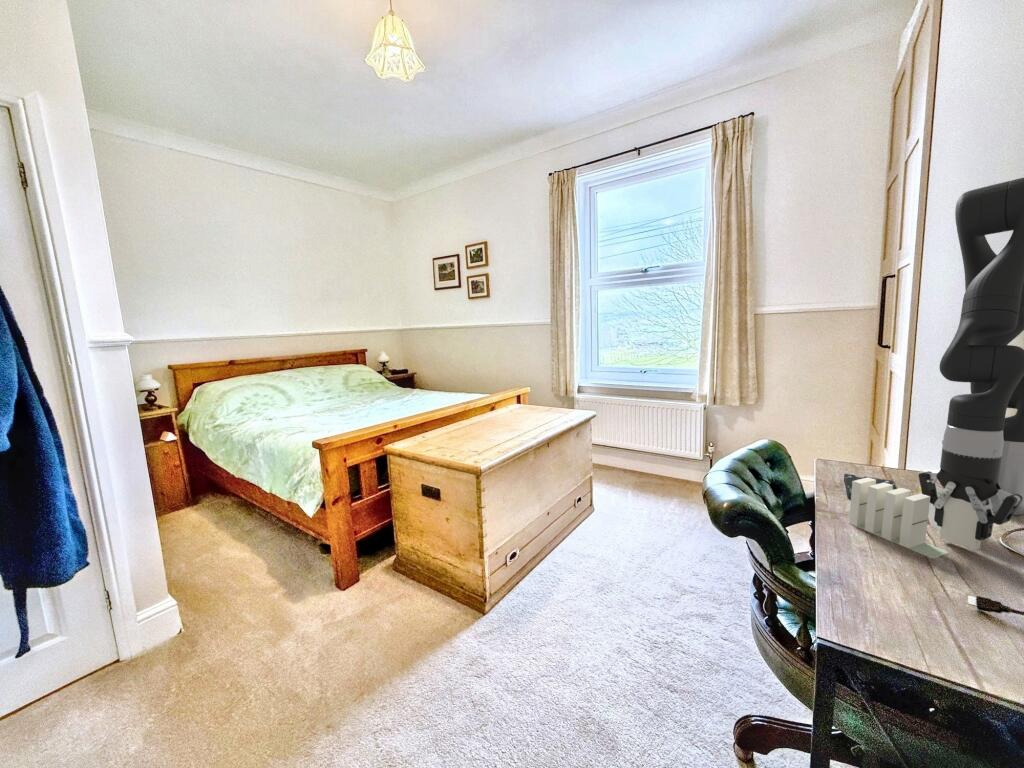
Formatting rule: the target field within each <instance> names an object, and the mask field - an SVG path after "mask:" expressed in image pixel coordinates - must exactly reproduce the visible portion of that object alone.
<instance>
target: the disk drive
mask: <svg viewBox="0 0 1024 768" xmlns="http://www.w3.org/2000/svg"><path fill="white" fill-rule="evenodd" d="M863 478H872V479H875V480H876V484H880V483H884V482H885V483H888V484H891V485H893V490H895V489H898V487H897V486H896V483H895V482H894V480H891V479H884V478H878V477H877V478H876V477H869V476H863V477H860V476H856V475H855V474H849V473H844V475H843V483H844V486H845V492H846V496H847V500H851V494H852V482H853V481H855V480H859V479H863Z"/></svg>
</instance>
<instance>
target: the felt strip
mask: <svg viewBox="0 0 1024 768" xmlns="http://www.w3.org/2000/svg"><path fill="white" fill-rule="evenodd" d="M846 523H847V524H849V525H852V524H850V523H849V521H847V522H846ZM852 526H854V527H856V528H859V529H862V530H863V531H866V532H869V531H867V530H865V524H863V525H860V526H855V525H852ZM869 533H870V534H872V535H876V536H878V537H879V538H880V537H881V534H882V531H878V532H875V533H871V532H869ZM881 538H883V537H881ZM883 539H885V540H887V541H890V542H892V543H895V544H897V545H899V546H902V547H904V548H907V547H905V546H903V545H900V544H899V541H900V537H899V538H896V539H893V540H888V539H886V538H883ZM907 549H909V550H911V551H913V552H916V553H918V554H921V555H923V556H926V557H928V558H930V559H935V558H937V557H941V556H943V555H946V554H949V553H950V552H949V551H947V550H944V549H942V548H940V547H937V546H935V545H932V544H929V543H927V542H925V543H923V544H920V545H917V546H914V547H911V548H907Z"/></svg>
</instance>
